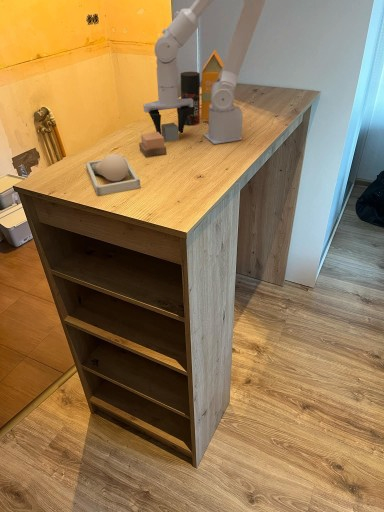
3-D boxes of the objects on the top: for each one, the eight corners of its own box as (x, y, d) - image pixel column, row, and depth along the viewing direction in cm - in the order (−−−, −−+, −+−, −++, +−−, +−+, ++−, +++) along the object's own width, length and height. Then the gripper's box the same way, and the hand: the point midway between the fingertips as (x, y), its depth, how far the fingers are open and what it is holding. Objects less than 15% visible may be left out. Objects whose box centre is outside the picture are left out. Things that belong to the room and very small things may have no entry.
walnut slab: (159, 148, 108) (159, 139, 106) (166, 155, 103) (166, 147, 102) (139, 151, 106) (139, 142, 105) (145, 159, 102) (145, 150, 100)
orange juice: (224, 112, 133) (227, 48, 121) (223, 119, 126) (226, 53, 114) (202, 111, 134) (203, 48, 121) (200, 119, 127) (201, 53, 114)
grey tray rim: (125, 163, 99) (124, 156, 98) (140, 187, 88) (139, 180, 86) (86, 169, 96) (85, 162, 95) (97, 195, 85) (96, 187, 83)
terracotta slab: (158, 140, 106) (158, 131, 104) (164, 146, 102) (163, 137, 101) (141, 143, 104) (141, 134, 103) (146, 149, 101) (146, 140, 99)
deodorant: (187, 118, 127) (186, 70, 118) (202, 121, 125) (203, 72, 116) (178, 123, 123) (176, 74, 114) (193, 126, 121) (193, 76, 112)
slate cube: (174, 135, 115) (173, 122, 112) (178, 140, 112) (178, 126, 110) (161, 137, 114) (161, 124, 111) (166, 142, 111) (165, 128, 108)
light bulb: (80, 157, 90) (110, 154, 84) (101, 153, 95) (131, 150, 89) (86, 184, 93) (116, 183, 86) (106, 179, 97) (136, 178, 91)
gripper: (186, 79, 109) (187, 126, 117) (138, 84, 104) (143, 132, 113) (196, 85, 103) (196, 133, 112) (145, 90, 99) (149, 140, 108)
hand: (170, 133), depth 112 cm, fingers open, 6 cm apart
